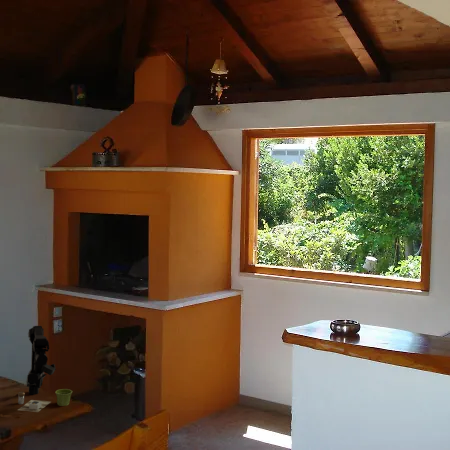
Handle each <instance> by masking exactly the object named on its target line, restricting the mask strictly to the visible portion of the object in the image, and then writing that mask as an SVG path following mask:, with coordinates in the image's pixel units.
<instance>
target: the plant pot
mask: <svg viewBox="0 0 450 450" xmlns="http://www.w3.org/2000/svg"><path fill="white" fill-rule="evenodd" d="M72 394H73V390H71V389H68V388H62V389H57V390H56V391H55V395H56V403H57V406H60V407H66V406H69V404H70V400H71V396H72Z"/></svg>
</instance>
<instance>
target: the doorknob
mask: <svg viewBox="0 0 450 450" xmlns="http://www.w3.org/2000/svg"><path fill="white" fill-rule="evenodd" d="M25 395H26V393H25V391H18V393H17V397H18V401H17V403H18V404H19V405H25Z"/></svg>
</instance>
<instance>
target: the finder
mask: <svg viewBox="0 0 450 450" xmlns="http://www.w3.org/2000/svg"><path fill="white" fill-rule="evenodd" d="M38 401H39V400H38ZM38 401H32V402H31V403H30V404H29V409H36V410H38V409H39V408H40V407H41V403H42V402H38Z"/></svg>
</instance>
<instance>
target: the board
mask: <svg viewBox="0 0 450 450" xmlns="http://www.w3.org/2000/svg"><path fill="white" fill-rule="evenodd" d="M32 401H38V402H42V403H41V407H40V408H39V409H38V410H36V409H29V404H30V403H31V402H32ZM49 404H51V401H49V400H48V401H47V400H36V399H35V400H34V399H31V400H29V401H28V402H26V403H24V404H23V405H21V407H20V408H18V409H17V411H25V412H34V413H39V412H40V411H41V410H43V409H44V408H45V407H46V406H48V405H49Z"/></svg>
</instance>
